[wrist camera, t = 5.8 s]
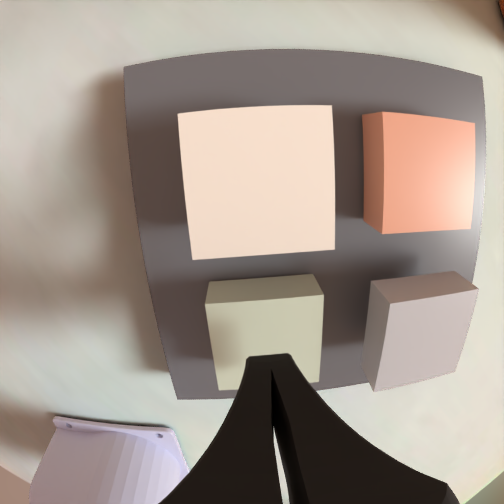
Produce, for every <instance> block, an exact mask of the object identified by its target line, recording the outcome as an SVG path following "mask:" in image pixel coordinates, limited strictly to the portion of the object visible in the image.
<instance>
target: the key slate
mask: <svg viewBox="0 0 504 504" xmlns="http://www.w3.org/2000/svg"><path fill="white" fill-rule="evenodd" d="M478 290H479V289H478V288H477V287H476V286H474V285H473V284H472V283H470V282H469V281H468V280H466V279H465V278H464V277H462V276H461V275H460V274H458V273H457V272H455V271H449V272H441V273H433V274H425V275H417V276H409V277H401V278H392V279H383V280H374V281H371V286H370V296H369V305H368V314H367V322H366V330H365V338H364V345H363V351H362V358H361V364H360V365H361V367H362V369H363V371H364V373H365V375H366V377H367V379H368V381H369V383H370V385H371V387H372V390H373V392H377V391H382V390H386V389H391V388H395V387H400V386H404V385H408V384H412V383H416V382H420V381H424V380H427V379H431V378H435V377H438V376H442V375H445V374H449V373H452V372H455V370H456V367H457V364H458V361H459V358H460V355H461V352H462V349H463V346H464V343H465V339H466V336H467V333H468V329H469V326H470V322H471V319H472V315H473V311H474V307H475V303H476V299H477V295H478Z"/></svg>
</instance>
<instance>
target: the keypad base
mask: <svg viewBox="0 0 504 504" xmlns="http://www.w3.org/2000/svg"><path fill="white" fill-rule="evenodd" d="M124 90H125V109H126V124H127V136H128V148H129V158H130V167H131V176H132V184H133V192H134V200H135V207H136V214H137V221H138V227H139V233H140V240H141V245H142V251H143V257H144V262H145V268H146V273H147V278H148V283H149V288H150V293H151V298H152V302H153V307H154V311H155V316H156V320H157V324H158V329H159V333H160V337H161V341H162V345H163V349H164V353H165V357H166V361H167V364H168V368H169V372H170V375H171V379H172V383H173V386H174V390H175V393H176V396H177V399H227V398H235V396H236V394H237V391H238V389H237V390H219V388H218V382H217V377H216V371H215V365H214V359H213V353H212V347H211V341H210V334H209V328H208V321H207V315H206V308H205V301H206V296H207V291H208V285H209V282H210V281H225V280H239V279H253V278H266V277H279V276H292V275H304V274H313V275H314V277H315V279H316V281H317V282H318V284H319V286H320V288H321V290H322V292H323V294H324V305H323V327H322V344H321V360H320V373H319V382H314V383H310V385H311V386H312V387H313V388H314V390H315V391H317V390H325V389H331V388H338V387H344V386H350V385H356V384H362V383H367V382H369V381H368V379H367V377H366V375H365V373H364V371H363V369H362V367H361V365H360V364H361V358H362V351H363V345H364V338H365V330H366V322H367V314H368V305H369V296H370V286H371V281H374V280H383V279H392V278H401V277H409V276H417V275H425V274H433V273H441V272H449V271H455V272H457V273H458V274H460V275H461V276H462V277H464V278H465V279H466V280H468V281H469V282H470V283H472V281H473V276H474V271H475V265H476V260H477V254H478V247H479V240H480V233H481V225H482V216H483V206H484V193H485V175H486V120H485V103H484V90H483V80H482V77H481V76H478V75H474V74H471V73H467V72H463V71H459V70H455V69H451V68H447V67H443V66H438V65H434V64H429V63H424V62H419V61H414V60H408V59H402V58H396V57H389V56H382V55H374V54H365V53H355V52H344V51H329V50H306V49H265V50H242V51H227V52H216V53H206V54H197V55H189V56H182V57H175V58H168V59H162V60H156V61H151V62H146V63H140V64H135V65H131V66H126V67H124ZM283 105H332V117H333V137H334V165H335V250H322V251H309V252H295V253H282V254H268V255H255V256H241V257H227V258H213V259H199V260H193V259H192V252H191V244H190V236H189V228H188V220H187V211H186V202H185V193H184V183H183V173H182V162H181V151H180V139H179V126H178V114H179V113H187V112H196V111H205V110H215V109H227V108H240V107H257V106H283ZM377 112H393V113H404V114H414V115H423V116H431V117H439V118H446V119H453V120H459V121H465V122H471V123H475V182H474V198H473V211H472V221H471V229H459V230H442V231H426V232H410V233H394V234H381V233H380V232H378V231H377V230H376V229H374V228H373V227H371V226H370V225H369V224H367V223H366V222H364V221H363V214H364V152H363V124H362V115H364V114H370V113H377Z"/></svg>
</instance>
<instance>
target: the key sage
mask: <svg viewBox="0 0 504 504" xmlns="http://www.w3.org/2000/svg"><path fill="white" fill-rule="evenodd" d="M323 305H324V294H323V292H322V290H321V288H320V286H319V284H318V282H317V281H316V279H315V277H314V275H313V274H304V275H292V276H279V277H266V278H253V279H239V280H225V281H210V282H209V285H208V291H207V296H206V301H205V308H206V315H207V321H208V328H209V334H210V341H211V347H212V353H213V359H214V365H215V371H216V377H217V382H218V388H219V390H237V389H239V386H240V383H241V380H242V377H243V373H244V369H245V364H246V359H247V358H248V357H249V356H259V355H271V354H282V353H289V354H290V355H291V356H292V358H293V360H294V361H295V363H296V365H297V366H298V368H299V369H300V371H301V372H302V374H303V375H304V377H305V378H306V379H307V381H308V382H309V383H314V382H319V373H320V360H321V344H322V327H323Z"/></svg>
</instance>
